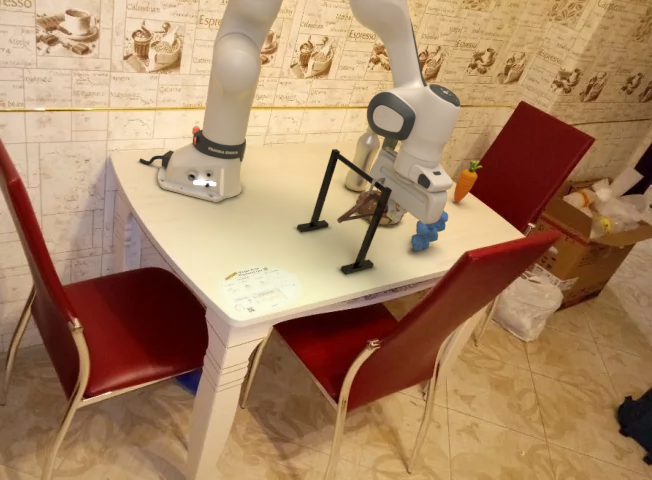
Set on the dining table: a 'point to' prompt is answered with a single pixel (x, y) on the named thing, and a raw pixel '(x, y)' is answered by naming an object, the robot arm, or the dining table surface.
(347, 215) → the hanger
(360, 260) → the rail
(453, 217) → the dining table surface
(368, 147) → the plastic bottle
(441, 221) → the grapes
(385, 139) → the vegetable
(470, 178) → the carrot
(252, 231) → the dining table surface
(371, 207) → the donut
